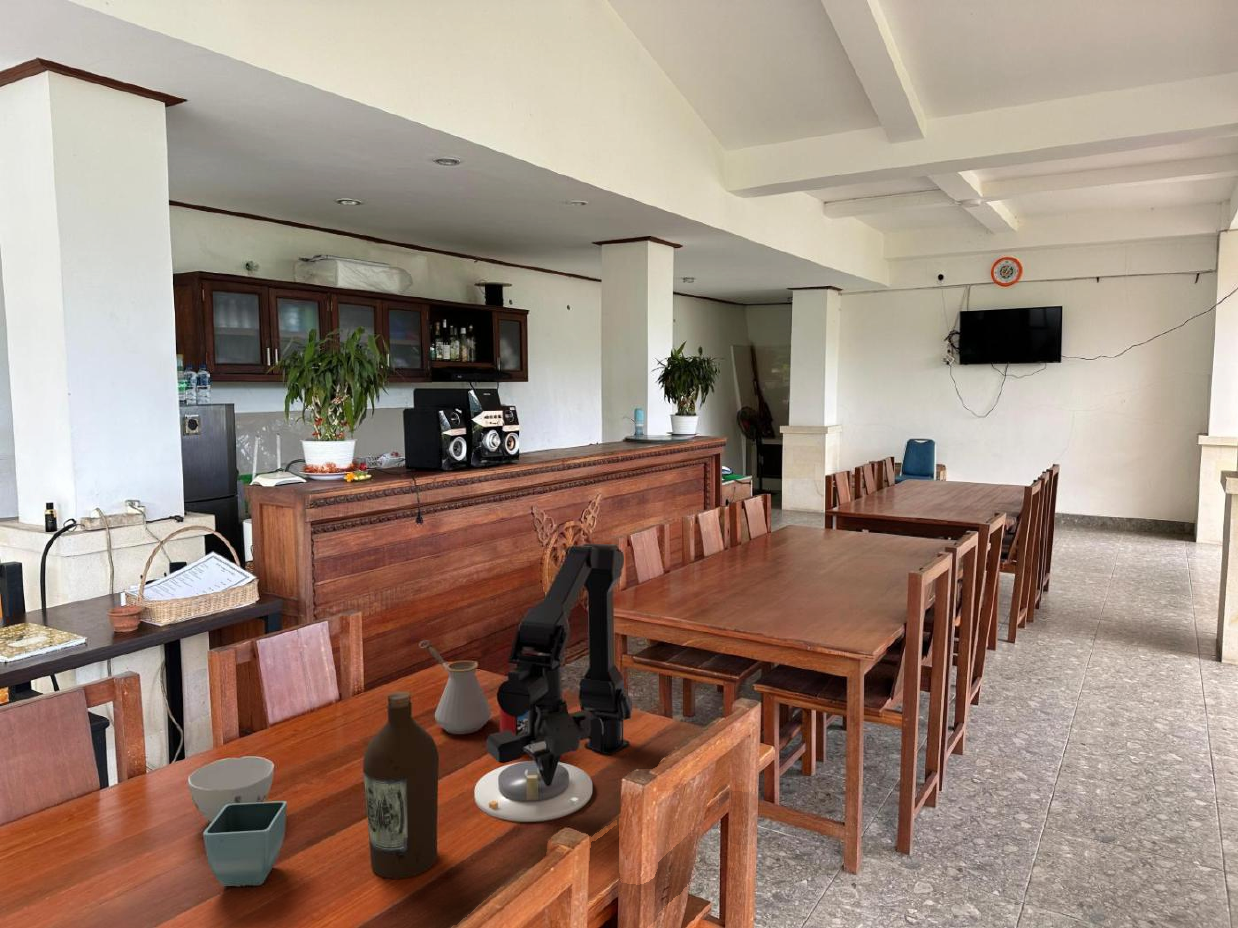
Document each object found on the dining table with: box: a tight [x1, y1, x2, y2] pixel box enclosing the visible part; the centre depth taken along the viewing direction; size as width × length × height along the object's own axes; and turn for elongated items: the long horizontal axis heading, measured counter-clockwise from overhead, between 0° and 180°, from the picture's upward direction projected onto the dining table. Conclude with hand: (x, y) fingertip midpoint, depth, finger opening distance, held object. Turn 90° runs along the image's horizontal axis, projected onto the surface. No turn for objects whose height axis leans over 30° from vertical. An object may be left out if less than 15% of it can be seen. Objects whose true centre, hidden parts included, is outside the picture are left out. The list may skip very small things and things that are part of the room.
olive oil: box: [362, 691, 440, 880], centre depth 123 cm, size 11×11×25 cm
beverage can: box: [499, 706, 528, 753], centre depth 162 cm, size 7×7×12 cm
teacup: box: [187, 755, 275, 823], centre depth 137 cm, size 15×12×8 cm
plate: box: [474, 760, 593, 823], centre depth 144 cm, size 20×20×2 cm
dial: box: [498, 760, 569, 802], centre depth 143 cm, size 14×12×5 cm
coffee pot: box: [418, 639, 493, 735], centre depth 176 cm, size 21×12×15 cm, turn 43°
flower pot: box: [202, 800, 288, 887], centre depth 120 cm, size 9×9×9 cm
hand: (547, 785), depth 138 cm, fingers closed
